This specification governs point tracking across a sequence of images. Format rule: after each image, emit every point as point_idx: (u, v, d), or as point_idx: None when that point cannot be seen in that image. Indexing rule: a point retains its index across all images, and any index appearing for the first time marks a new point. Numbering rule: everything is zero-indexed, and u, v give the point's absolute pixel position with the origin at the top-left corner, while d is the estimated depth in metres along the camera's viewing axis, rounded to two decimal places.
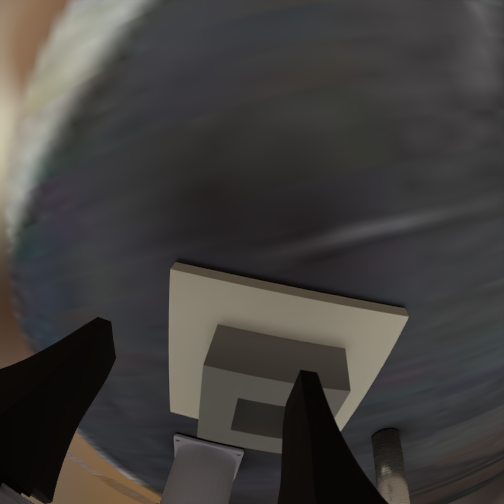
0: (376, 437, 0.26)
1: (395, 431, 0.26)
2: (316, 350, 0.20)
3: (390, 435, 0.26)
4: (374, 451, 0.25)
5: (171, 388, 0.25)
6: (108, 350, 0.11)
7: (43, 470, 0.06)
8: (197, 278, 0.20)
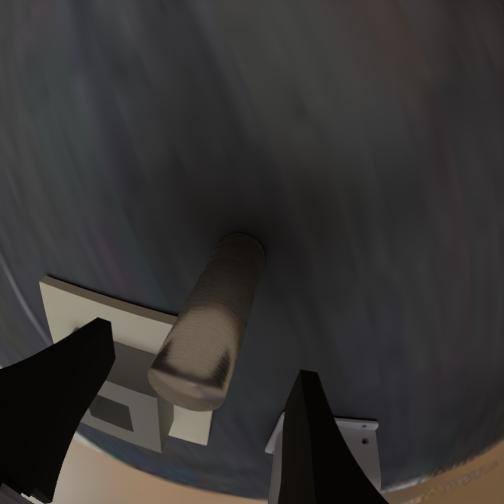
0: None
1: None
2: None
3: None
4: None
5: (170, 434, 0.28)
6: (108, 350, 0.11)
7: (43, 470, 0.06)
8: None
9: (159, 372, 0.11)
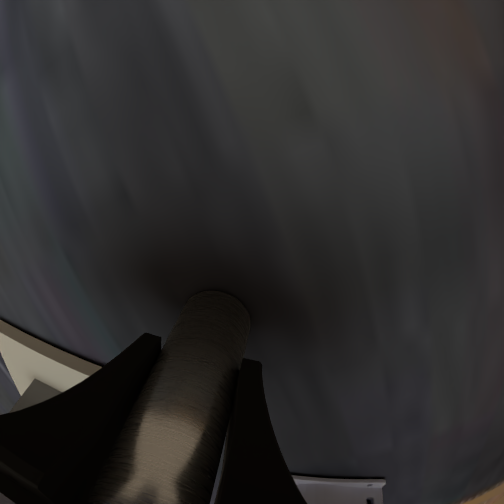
0: None
1: (184, 306, 0.13)
2: None
3: None
4: None
5: None
6: None
7: None
8: None
9: None
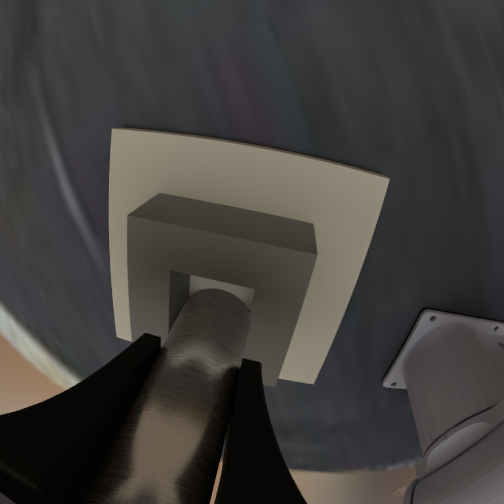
0: None
1: (184, 304, 0.13)
2: None
3: None
4: None
5: None
6: None
7: None
8: (117, 320, 0.23)
9: None
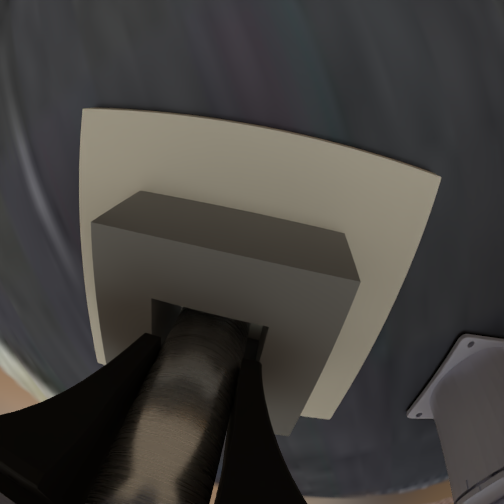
0: None
1: None
2: None
3: None
4: None
5: None
6: None
7: None
8: (97, 344, 0.18)
9: None
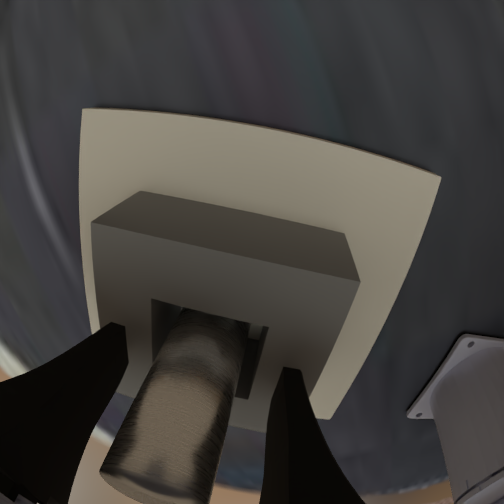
0: None
1: None
2: None
3: None
4: None
5: None
6: (122, 355, 0.11)
7: (58, 479, 0.06)
8: None
9: (114, 474, 0.06)
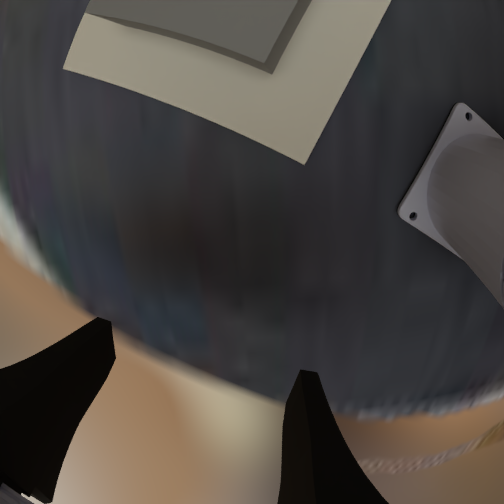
0: None
1: None
2: None
3: None
4: None
5: (237, 128, 0.15)
6: (108, 350, 0.11)
7: (43, 470, 0.06)
8: (75, 42, 0.14)
9: None
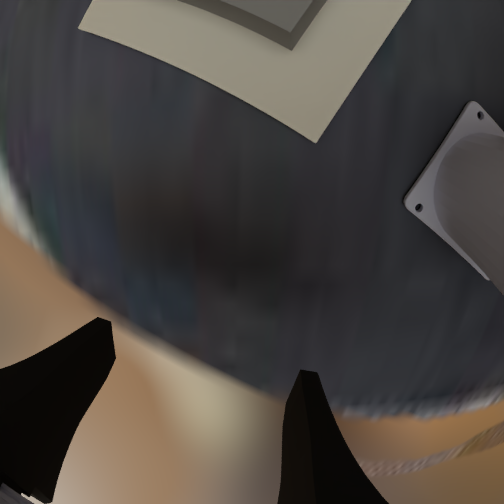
0: None
1: None
2: None
3: None
4: None
5: (251, 100, 0.15)
6: (108, 350, 0.11)
7: (43, 470, 0.06)
8: (94, 3, 0.13)
9: None
